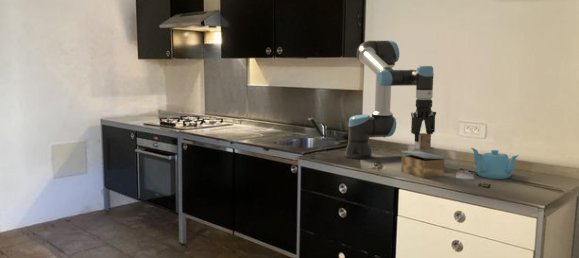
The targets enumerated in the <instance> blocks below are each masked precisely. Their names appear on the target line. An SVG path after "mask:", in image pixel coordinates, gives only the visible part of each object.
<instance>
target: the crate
mask: <svg viewBox="0 0 579 258" xmlns="http://www.w3.org/2000/svg"><path fill="white" fill-rule="evenodd" d="M445 159H446V158H445ZM445 159H434V158H423V157H418V156H414V155H410V154H404V155H401V170H400V171H401V173H404V174H406V175H407V174H408V175H412V176H415V177H418V178H422V179H430V178H431V179H432V178H437V177H443V176H445Z"/></svg>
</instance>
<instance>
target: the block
mask: <svg viewBox="0 0 579 258" xmlns="http://www.w3.org/2000/svg"><path fill="white" fill-rule="evenodd" d="M419 135H421V146H420V150H426V149H431V147H432V146H431V143H432V134H427V133H426V132H425V133H424V132H422V133H421V132H420V134H419ZM415 149H417V148H415ZM417 150H418V149H417Z"/></svg>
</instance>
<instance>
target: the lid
mask: <svg viewBox="0 0 579 258" xmlns="http://www.w3.org/2000/svg"><path fill="white" fill-rule="evenodd" d="M400 153H402V154H405V155H414V156H418V157H423V158H434V159H446V156H441V155H439V154H438V155H437V154H435V155H433V154H429V153H425V152H419V151H418V150H416V151H415V150H413V151H412V150H401V151H400Z"/></svg>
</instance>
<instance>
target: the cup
mask: <svg viewBox="0 0 579 258" xmlns="http://www.w3.org/2000/svg"><path fill="white" fill-rule="evenodd" d="M417 151H419V152H425V153H429V154H433V155H436V154H435V153H436V152H435V151H436V148H435V147H433V146H431V149H426V150H420V149H417Z"/></svg>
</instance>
